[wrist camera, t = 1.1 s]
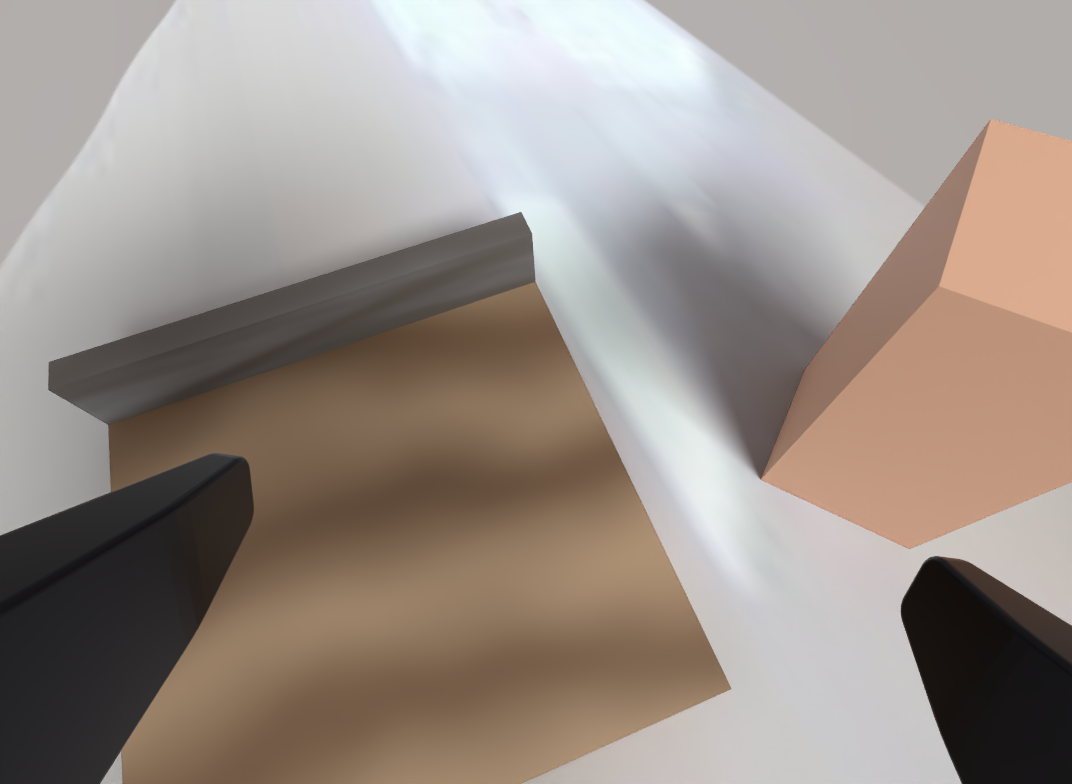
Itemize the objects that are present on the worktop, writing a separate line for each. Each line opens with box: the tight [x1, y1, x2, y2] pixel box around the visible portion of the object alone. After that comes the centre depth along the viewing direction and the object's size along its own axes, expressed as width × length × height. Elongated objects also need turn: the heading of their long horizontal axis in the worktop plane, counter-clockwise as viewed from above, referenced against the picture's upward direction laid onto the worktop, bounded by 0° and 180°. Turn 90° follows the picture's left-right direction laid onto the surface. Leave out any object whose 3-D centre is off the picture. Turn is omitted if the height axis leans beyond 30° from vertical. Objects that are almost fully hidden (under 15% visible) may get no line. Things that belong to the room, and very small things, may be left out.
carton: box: [761, 119, 1072, 549], centre depth 17 cm, size 6×6×12 cm
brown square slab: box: [48, 212, 731, 784], centre depth 20 cm, size 18×18×4 cm
